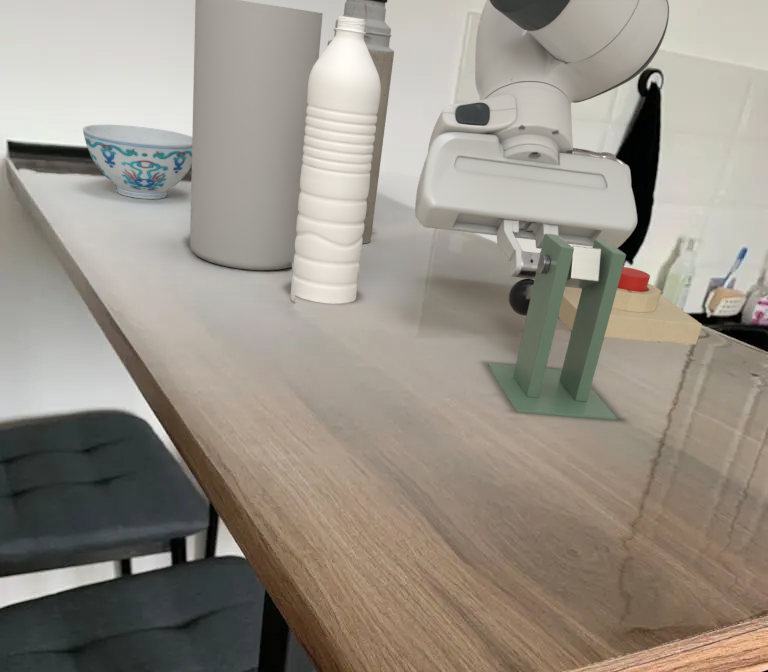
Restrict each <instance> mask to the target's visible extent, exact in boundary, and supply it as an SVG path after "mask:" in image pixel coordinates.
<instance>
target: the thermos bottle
mask: <svg viewBox="0 0 768 672" xmlns="http://www.w3.org/2000/svg"><path fill="white" fill-rule="evenodd" d="M386 3H388V0H346V1H345V3H344V9H343V15H342V16H344V17H351V18H357V19H363V20H365V29H364V31H363V32H366V33H364V42H365V44H366V46H367V49H368V51H369V53H370V56H371V58H372V60H373V63H374V65H375V67H376V70H377V72H378V75H379V78H380V84H381V94H380V102H379V108H378V113H377V114H376V116H377V122H376V124H375V126H376V131H375V133H374V136H375V140H374V143H373V146H374V149H373V152H372V161H371V171H370V172H369V173H370V184H369V193H368V197H367V198H366V201H367V210H366V216H365V220H364V232H363V234H362V238H363V241H362V245H363V243H364V244H368V243H370V242H371V240H372V233H373V227H374V217H375V210H376V209H375V208H376V203H377V193H378V186H379V185H378V184H379V179H380V170H381V161H382V152H383V146H384V137H385V131H386V130H385V129H386V122H387V121H386V120H387V115H388V114H387V112H388V104H389V97H390V89H391V79H392V74H393V66H394V56H395V51H394V50H393V49H392V48H391V47H390V41H391V37H392V33H391V32H392V28H391V27H390V26H389V25H388V24H387V23H386V15H387V14H386V13H387V9H386ZM337 25H338V18H337V19H336V20H335V24H334V28H333V32H334V35H333V36H334V37H335V35H336V29H335V28H338V27H337ZM334 37H333V38H334ZM332 40H333V39H329V40H328V41H327V46H328V45H329V44H330V42H331V41H332Z"/></svg>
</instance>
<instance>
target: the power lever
mask: <svg viewBox="0 0 768 672" xmlns="http://www.w3.org/2000/svg"><path fill="white" fill-rule="evenodd" d="M571 246H572V247H573V248H574V252H573V256H572V260H571V265H570V269H569V273H568V277H567V281H566V286H565V287H572V288H581V289H584V288H586V287H588V286H590V285H592V284H594V283H596V282H598V281H599V270H600V258H601V249H597V248H592V247H589V246H580V245H571ZM534 280H535V279H528V278H522V279H520V280H518V281H517V282H516V283H514V284H513V285H512V286H511V288H510V291H509V293H508V303H509V306H510V308H511V310H513V312H515V313H516V314H518V315H519V316H525V317H526V316H527V312H528V307H529V303H530V298H531V294H532V289H533V285H534Z"/></svg>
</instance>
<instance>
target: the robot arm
mask: <svg viewBox="0 0 768 672" xmlns="http://www.w3.org/2000/svg"><path fill="white" fill-rule="evenodd" d="M669 18H670V4H669V1H668V0H486V1H485V3H484V6H483V7H482V10H481V14H480V18H479V22H478V25H477V32H476V36H475V37H476V38H475V49H474V50H475V51H474V80H475V81H474V82H475V83H474V84H475V87H476V91H477V94H478V96H479V100H473V101H467V102H461V103H453V104H448V105H446V106H445V107H443V109H442V110H441V112H440V114H439V116H438V118H437V120H436V122H435V125H434V127H433V129H432V132H431V135H430V139H429V143H428V149H427V154H426V156H425V160H424V163H423V166H422V170H421V173H420V175H419V179H418V181H417V183H418V184H417V188H416V193H415V194H416V195H415V206H414V215H415V218H416V219H417V221H418V222H419V223H420V225H421V226H422V227H423V228H429V229H436V230H444V231H452V232H453V231H454V232H463V233H471V234H472V233H473V234H480V235H488V236H496V244H497V246H498V248H499V249H500V251H501V252H502V254H503V255H504V257H505V258H506V259H507V261H508V262H509V276H510V278H511V277H512V278H520V279H533V280H535V276H536V271H537V266H538V262H539V257H540V253H541V251H540V252H531V251H524V249H523V248H522V246H521V245H520V243H519V241H518V239H522V240H523V239H524V240H532V241H535V248H536V249H540V250H541V248H542V244H543V239H544V235H545V233H546V234H555V235H558V236H559V237H560V238H561V239H563V240H564V241H565V242H566V243H568V244H569V245H574V246H583V247H591V248H592V247H593V243H594V240H595V239H597V240H605V241H607V242H609V243H610V244H612V245H613V246H614V247H616V248H617V249H619V247H621V246H622V245H623V244H624V243H625V242H626V241H627V239H629V238H630V236H631V235H632V234H633V232H634V231H635V229H636V227H637V224H638V213H637V206H636V205H637V204H636V200H635V195H634V191H633V188H632V174H631V169H630V166H629V165H628V164H626V163H625V162H624V161H623V160H621V159H619V158H617V157H616V155H615V154H614V153H612V152H606V151H602V152H601V151H593V150H589V149H586V148H585V149H584V148H578V147H574V143H573V140H574V139H573V122H572V103H581V102H585V101H588V100H590V99H593V98H596V97H598V96H601V95H603V94H605V93H608V92H610V91H612V90H614V89H616V88H618V87H620V86H622V85H624V84H627V83H629V82H630V81H631V80H633V79H635V78H636V77H637V76H639V75H640V74H641V73H642V72H643V71H644V70H645V69H646V68H647V67H648V66H649V65H650V63H651V62H652V61H653V59H654V58H655V56H656V55H657V53H658V51H659V49H660V47H661V45H662V43H663V41H664V39H665V36H666V32H667V28H668V23H669V20H670V19H669Z"/></svg>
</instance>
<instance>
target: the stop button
mask: <svg viewBox="0 0 768 672" xmlns="http://www.w3.org/2000/svg"><path fill="white" fill-rule="evenodd" d="M650 278H651V275H650V274H649V273H647V271H643V270H641V269H637V268H633V267H627V266H623V269H622V273H621V276H620V280H619V284H618V288H620V289H624V290H629V291H637V292H646V289H647V286H648V284H649V282H650Z"/></svg>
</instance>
